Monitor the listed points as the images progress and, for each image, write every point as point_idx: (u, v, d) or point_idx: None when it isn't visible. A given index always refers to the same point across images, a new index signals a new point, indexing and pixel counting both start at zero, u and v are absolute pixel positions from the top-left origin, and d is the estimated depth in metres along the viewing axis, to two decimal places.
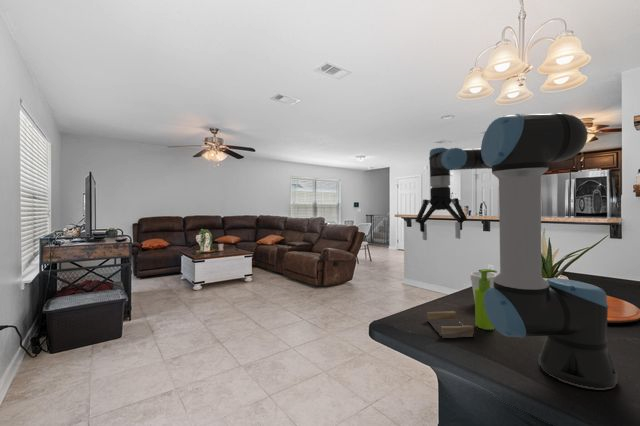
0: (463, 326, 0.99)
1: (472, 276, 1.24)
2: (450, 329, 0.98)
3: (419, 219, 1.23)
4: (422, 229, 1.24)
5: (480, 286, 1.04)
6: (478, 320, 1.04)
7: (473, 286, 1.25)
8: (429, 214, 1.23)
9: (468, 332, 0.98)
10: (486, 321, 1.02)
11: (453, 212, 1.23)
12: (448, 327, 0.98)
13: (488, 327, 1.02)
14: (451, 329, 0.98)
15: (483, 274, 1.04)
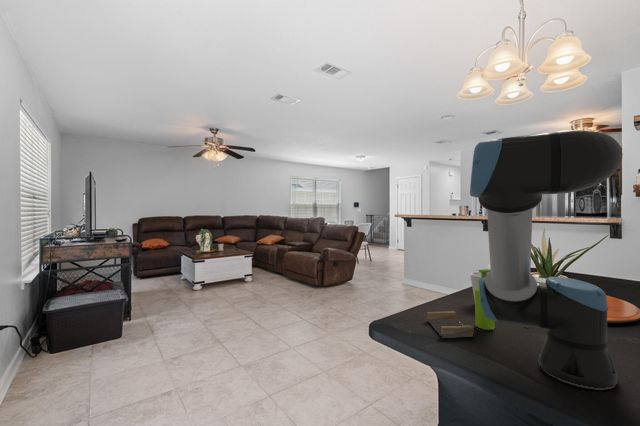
0: (463, 326, 0.99)
1: (472, 276, 1.24)
2: (450, 329, 0.98)
3: None
4: None
5: None
6: (478, 320, 1.04)
7: (473, 286, 1.25)
8: None
9: (468, 332, 0.98)
10: (486, 321, 1.02)
11: None
12: (448, 327, 0.98)
13: (488, 327, 1.02)
14: (451, 329, 0.98)
15: (483, 274, 1.04)
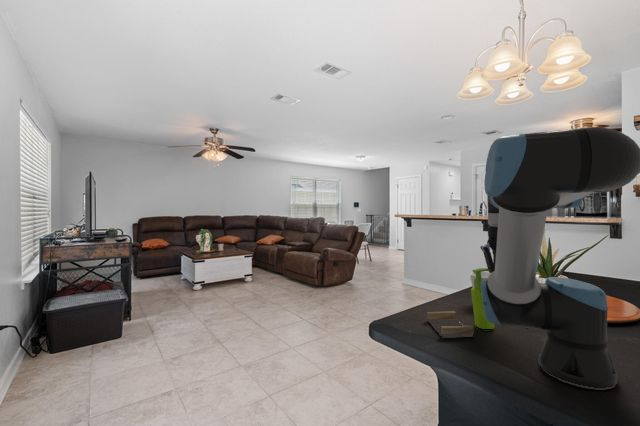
0: (463, 326, 0.99)
1: (472, 276, 1.24)
2: (450, 329, 0.98)
3: (493, 270, 1.03)
4: None
5: (475, 286, 1.04)
6: (477, 320, 1.04)
7: (473, 286, 1.25)
8: None
9: (468, 332, 0.98)
10: (485, 321, 1.02)
11: None
12: (448, 327, 0.98)
13: (488, 326, 1.02)
14: (451, 329, 0.98)
15: (477, 274, 1.04)
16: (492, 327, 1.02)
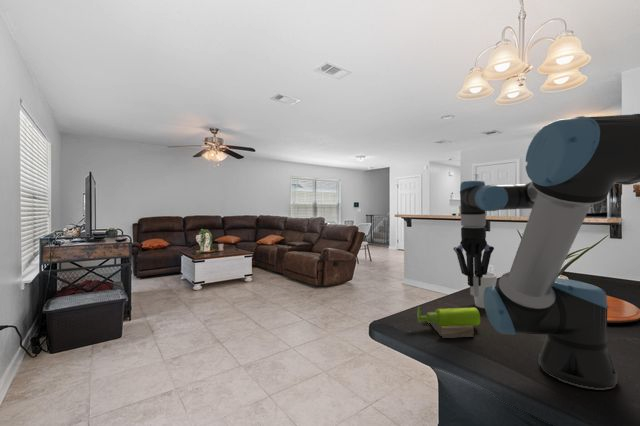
0: (463, 326, 0.99)
1: None
2: (450, 329, 0.98)
3: (466, 271, 1.03)
4: (471, 283, 1.04)
5: None
6: None
7: None
8: (471, 263, 1.03)
9: (468, 332, 0.98)
10: (470, 321, 1.03)
11: (479, 261, 1.03)
12: (448, 327, 0.98)
13: (476, 320, 1.03)
14: (451, 329, 0.98)
15: (422, 320, 1.05)
16: (478, 315, 1.03)
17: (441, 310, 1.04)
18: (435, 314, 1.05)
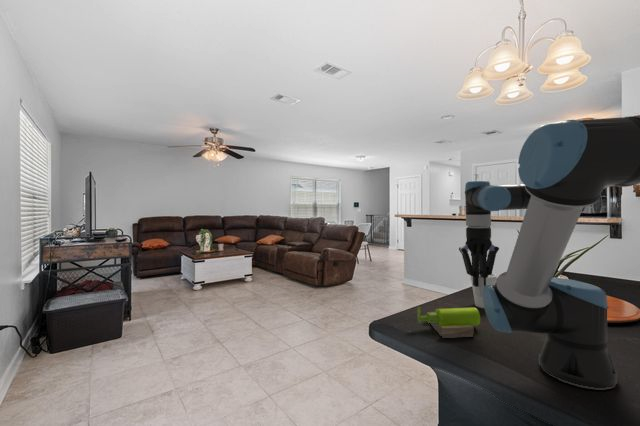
0: (463, 326, 0.99)
1: (472, 276, 1.24)
2: (450, 329, 0.98)
3: (471, 272, 1.03)
4: (476, 283, 1.03)
5: None
6: None
7: (473, 286, 1.25)
8: (477, 263, 1.03)
9: (468, 332, 0.98)
10: (470, 321, 1.03)
11: (484, 261, 1.03)
12: (448, 327, 0.98)
13: (476, 320, 1.03)
14: (451, 329, 0.98)
15: (422, 320, 1.05)
16: (477, 315, 1.03)
17: (441, 310, 1.05)
18: (435, 314, 1.05)
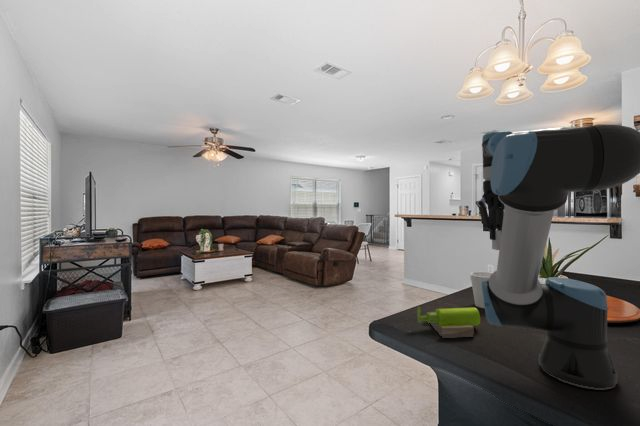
0: (463, 326, 0.99)
1: (472, 276, 1.24)
2: (450, 329, 0.98)
3: (488, 224, 1.02)
4: (493, 237, 1.03)
5: None
6: None
7: (473, 286, 1.25)
8: (494, 216, 1.02)
9: (468, 332, 0.98)
10: (470, 321, 1.03)
11: (501, 214, 1.02)
12: (448, 327, 0.98)
13: (476, 320, 1.03)
14: (451, 329, 0.98)
15: (422, 320, 1.05)
16: (477, 315, 1.03)
17: (441, 310, 1.05)
18: (435, 314, 1.05)
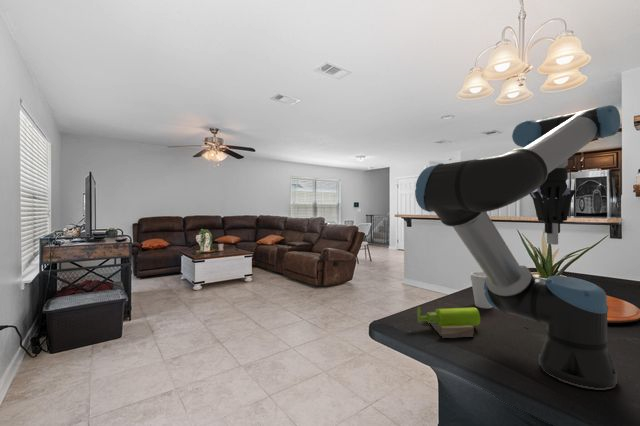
0: (463, 326, 0.99)
1: (472, 276, 1.24)
2: (450, 329, 0.98)
3: (545, 217, 0.94)
4: (549, 230, 0.95)
5: None
6: None
7: (473, 286, 1.25)
8: (551, 208, 0.94)
9: (468, 332, 0.98)
10: (470, 321, 1.03)
11: (559, 206, 0.94)
12: (448, 327, 0.98)
13: (476, 320, 1.03)
14: (451, 329, 0.98)
15: (422, 320, 1.05)
16: (477, 315, 1.03)
17: (441, 310, 1.05)
18: (435, 314, 1.05)
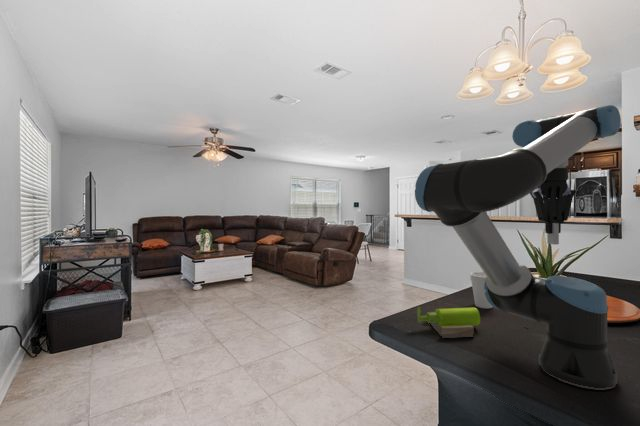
0: (463, 326, 0.99)
1: (472, 276, 1.24)
2: (450, 329, 0.98)
3: (545, 217, 0.94)
4: (550, 230, 0.95)
5: None
6: None
7: (473, 286, 1.25)
8: (551, 208, 0.94)
9: (468, 332, 0.98)
10: (470, 321, 1.03)
11: (559, 206, 0.94)
12: (448, 327, 0.98)
13: (476, 320, 1.03)
14: (451, 329, 0.98)
15: (422, 320, 1.05)
16: (477, 315, 1.03)
17: (441, 310, 1.05)
18: (435, 314, 1.05)
